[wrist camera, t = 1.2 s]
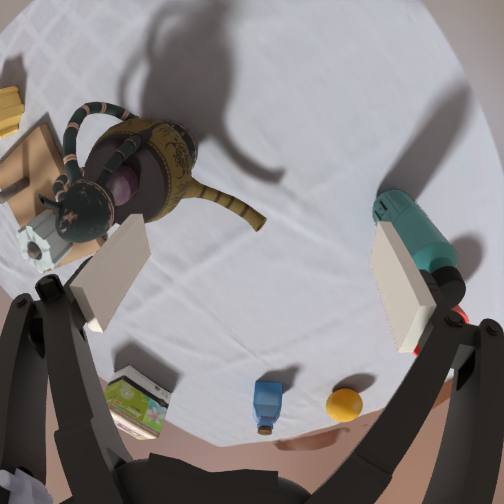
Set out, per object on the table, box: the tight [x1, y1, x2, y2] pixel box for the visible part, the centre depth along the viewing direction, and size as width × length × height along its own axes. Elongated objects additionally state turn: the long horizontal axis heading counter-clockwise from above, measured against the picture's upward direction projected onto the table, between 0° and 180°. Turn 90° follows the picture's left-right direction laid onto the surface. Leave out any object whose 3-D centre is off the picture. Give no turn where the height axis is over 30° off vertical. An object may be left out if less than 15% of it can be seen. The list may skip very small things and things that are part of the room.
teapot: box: [38, 102, 267, 243], centre depth 29 cm, size 12×25×23 cm, turn 59°
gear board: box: [0, 123, 106, 271], centre depth 40 cm, size 24×18×9 cm
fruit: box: [326, 388, 363, 422], centre depth 61 cm, size 9×8×8 cm
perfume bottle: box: [253, 381, 283, 435], centre depth 60 cm, size 6×6×12 cm
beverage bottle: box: [372, 190, 466, 310], centre depth 30 cm, size 6×7×20 cm
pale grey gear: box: [16, 209, 73, 274], centre depth 42 cm, size 10×9×6 cm
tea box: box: [104, 365, 172, 440], centre depth 65 cm, size 15×10×15 cm, turn 41°
